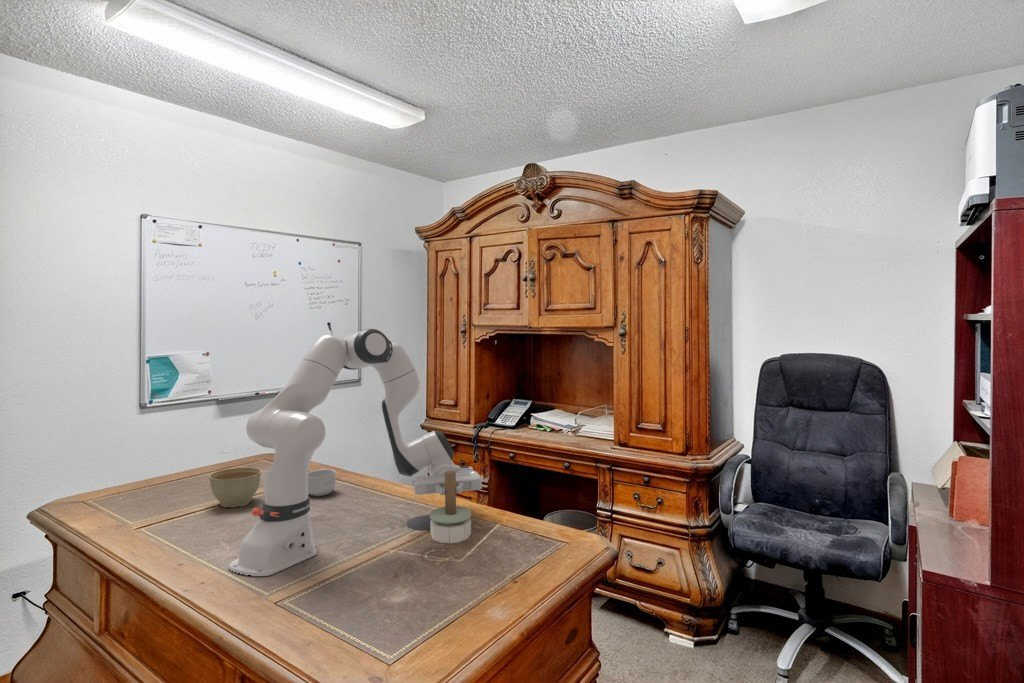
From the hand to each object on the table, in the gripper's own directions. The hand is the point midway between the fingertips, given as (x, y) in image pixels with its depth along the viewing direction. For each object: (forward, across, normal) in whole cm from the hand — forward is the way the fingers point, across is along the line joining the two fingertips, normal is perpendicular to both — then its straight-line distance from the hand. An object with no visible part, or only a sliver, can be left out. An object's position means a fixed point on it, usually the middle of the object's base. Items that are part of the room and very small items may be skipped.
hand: (450, 491), depth 157 cm
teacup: (-55, -42, +14) cm, 71 cm away
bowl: (-1, 0, +14) cm, 14 cm away
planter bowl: (-49, -69, +14) cm, 86 cm away
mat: (-13, -6, +14) cm, 20 cm away
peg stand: (-1, 0, +7) cm, 7 cm away
